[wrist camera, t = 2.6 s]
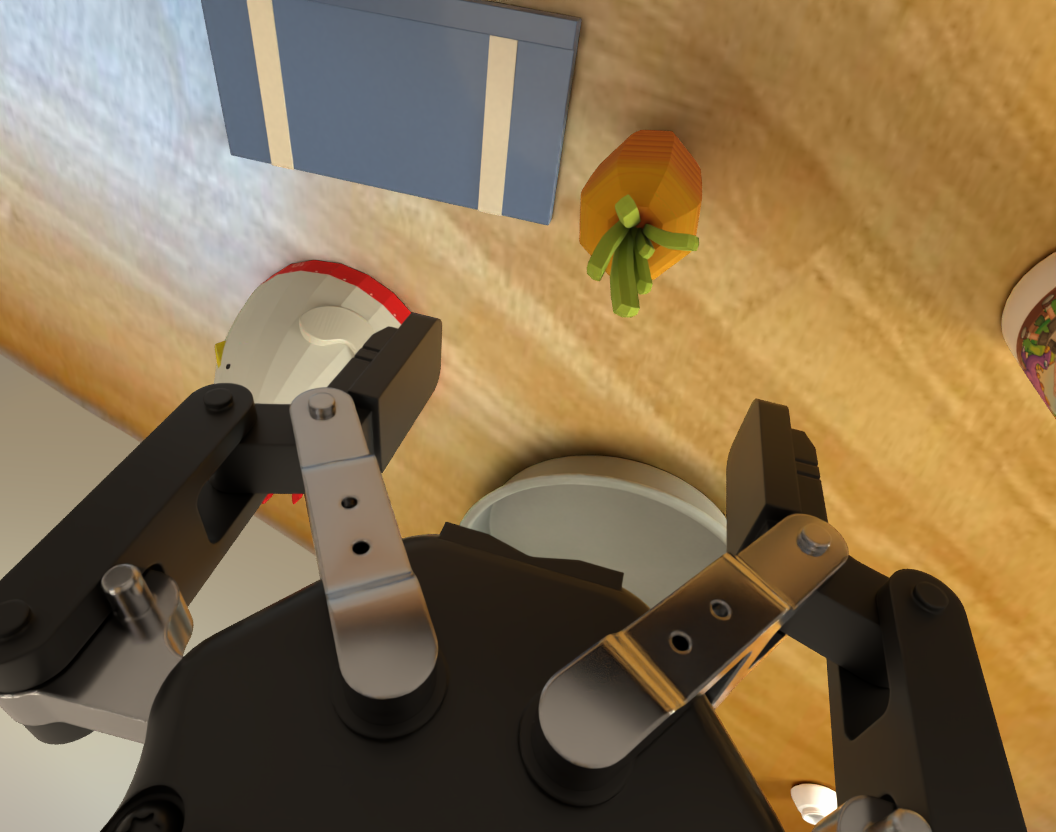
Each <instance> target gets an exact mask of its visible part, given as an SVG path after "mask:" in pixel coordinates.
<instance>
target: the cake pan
mask: <svg viewBox="0 0 1056 832" xmlns="http://www.w3.org/2000/svg"><path fill="white" fill-rule="evenodd" d="M459 526H463V527H466V528H470V529H473V530H477V531H480V532H484V533H487V534H490V535H491V536H493V537H495V538H497V539H499V540H501V541H502V542H504V543H506V544H508V545H510V546H512V547H513V548H515V549H517V550H519V551H521V552H523V553H524V554H526V555H529V556H532V557H542V558H557V559H572V560H581V561H585V562H588V563H591V564H595V565H598V566H602V567H605V568H609V569H612V570H616V571H619V572H623V573H624V576H623V583H622V587H623V588H624V589H626V590H628V591H630V592H631V593H633V594H634V595H635V596H637V597H638V598H640V599H641V600H642V601H643V602H644V603H645V604H647V605H648V606H649V607H650V608H653V607H654V606H655V605H657V604H658V603H659V602H661V601H662V600H663V599H665V598H666V597H667V596H669V595H670V594H671V593H672V592H674V591H675V590H676V589H678V588H679V587H680V586H682V585H683V584H684V583H686V582H687V581H688V580H690V579H691V578H692V577H694V576H695V575H696V574H698V573H699V572H700V571H702V570H703V569H704V568H706V567H707V566H708V565H710V564H711V563H712V562H714V561H715V560H716V559H718V558H719V557H721V556H722V555H723V554H725V553H727V519H726V518H725V516H724V515H723V514H722V512H721V511H720V510H719V509H718V508H717V507H716V505H715V504H714V503H713V502H711V501H710V500H709V499H708V498H707V497H706V496H705V495H703V494H702V493H701V492H700V491H698V490H697V489H696V488H694V487H693V486H691V485H690V484H688V483H686V482H685V481H683V480H681V479H680V478H678V477H676V476H674V475H672V474H670V473H668V472H665V471H663V470H660V469H658V468H655V467H652V466H650V465H647V464H643V463H640V462H636V461H632V460H628V459H623V458H617V457H608V456H597V455H580V456H567V457H561V458H555V459H551V460H547V461H544V462H540V463H538V464H535V465H533V466H530V467H528V468H526V469H524V470H523V471H521V472H519V473H518V474H516V475H515V476H513V477H512V478H511V479H510V480H508V481H507V482H506V483H505V484H504V485H503V486H501V487H499V488H497V489H495V490H494V491H492V492H490V493H489V494H487V495H485V496H484V497H483V498H481V499H480V500H479V501H478V502H476V503H475V504H474V505H473V506H472V507H471V508H470V509H469V511H468V512H467V513H466V514H465V516H464V518H463V520H462V521H461V523H460V525H459Z"/></svg>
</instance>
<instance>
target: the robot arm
mask: <svg viewBox="0 0 1056 832" xmlns="http://www.w3.org/2000/svg"><path fill="white" fill-rule="evenodd" d="M441 344H442V322H441V320H440V319H438V318H434V317H429V316H425V315H421V314H417V313H411V314H410V315H409V316H408V317H407V318H406V319H405V321H404V322H403V323H402V324H401V326H400V327H399V328H395V327H391V326H388V327H386V328H384V329H382V330H380V331H378V332H376V333H374V334H372V335H371V337H370V338H369V339H368V340H367V341H366V342H365V343H364V345H363V346H362V348H360V349H359V350H358V352H357V353H356V354H355V356H354V358H353V357H352V358H351V360H350V361H349V362H348V363H347V364H346V365H345V367H344V368H343V369H342V370H341V371H340V372H339V373H338V375H337V376H336V377H335V378H334V379H333V380H332V382H331V383H330V384H329V385H328V386H327V387H321V388H314V389H310V390H307V391H305V392H303V393H301V394H299V395H298V396H297V397H295V398H294V400H293V401H292V402H291V404H261V403H254V399H253V395H252V393H251V392H250V390H249V389H247V388H246V387H244V386H242V385H238V384H234V383H217V384H212V385H208V386H205V387H202V388H200V389H198V390H196V391H195V392H193V393H192V394H191V395H190V396H189V397H188V398H187V399H186V400H185V401H184V402H183V403H181V404H180V405H179V406H178V407H177V408H176V409H175V410H174V411H173V412H172V413H171V414H170V415H169V416H168V417H167V418H166V419H165V420H164V421H163V422H162V423H161V424H160V425H159V426H158V427H157V428H156V429H155V430H154V431H153V432H152V433H151V434H150V435H149V436H148V437H147V438H146V439H145V440H144V441H143V442H142V443H141V444H140V445H138V446H137V448H135V449H134V450H133V452H131V453H130V454H129V455H128V457H126V458H125V459H124V460H123V461H122V462H121V463H120V464H119V465H118V466H117V467H116V468H115V469H114V470H113V471H112V472H111V473H110V474H109V475H108V476H107V477H106V478H105V479H104V480H103V481H102V482H101V483H100V484H99V485H98V486H96V488H95V489H93V490H92V492H90V493H89V494H88V495H87V496H86V497H85V498H84V499H83V500H82V501H81V502H80V503H79V504H78V505H77V506H76V507H75V508H74V509H73V510H72V511H71V512H70V513H69V514H68V515H67V516H66V517H65V518H64V519H63V520H62V521H61V522H60V523H59V524H58V525H57V526H56V527H55V528H53V529H52V530H51V531H50V532H49V533H48V534H47V535H46V536H45V537H44V538H43V539H42V540H41V541H40V542H39V543H38V544H37V545H36V546H35V547H34V548H33V549H32V550H31V551H30V552H29V553H28V554H27V555H26V556H25V557H24V558H23V559H22V560H21V561H20V562H19V563H18V564H17V565H16V566H15V567H14V568H13V569H11V570H10V571H9V572H8V573H7V574H6V575H5V576H4V577H3V578H2V579H1V580H0V707H1V708H2V709H3V710H4V711H5V712H6V713H7V714H8V715H9V716H10V717H11V718H13V719H14V720H15V721H16V722H18V723H20V724H23V725H24V726H25V727H26V728H27V729H28V730H29V731H30V732H31V733H32V734H33V735H34V736H35V737H36V738H37V739H38V740H40V741H42V742H44V743H48V744H65V743H69V742H73V741H75V740H78V739H80V738H83V737H85V736H87V735H88V734H90V733H92V732H93V731H98V732H102V733H106V734H109V735H113V736H116V737H121V738H124V739H128V740H131V741H135V742H139V743H143V744H144V747H143V750H142V754H141V758H140V761H139V764H138V767H137V769H136V772H135V775H134V778H133V780H132V782H131V784H130V786H129V789H128V791H127V793H126V795H125V797H124V799H123V801H122V803H121V804H120V806H119V808H118V809H117V811H116V812H115V813H114V815H113V816H112V818H111V819H110V820H109V821H108V823H107V824H106V825H105V826H104V827H103V829H102V830H101V831H100V832H785V831H784V829H783V827H782V825H781V823H780V821H779V819H778V817H777V816H776V814H775V812H774V810H773V809H772V807H771V805H770V804H769V802H768V800H767V799H766V797H765V795H764V793H763V792H762V790H761V788H760V787H759V785H758V783H757V782H756V780H755V778H754V777H753V775H752V773H751V771H750V770H749V768H748V766H747V765H746V763H745V761H744V760H743V758H742V756H741V754H740V753H739V751H738V749H737V748H736V746H735V744H734V743H733V741H732V739H731V738H730V736H729V734H728V732H727V731H726V729H725V727H724V726H723V724H722V722H721V721H720V719H719V717H718V716H717V714H716V712H715V709H716V708H717V707H718V706H719V704H720V703H721V702H722V701H723V700H724V699H725V698H726V697H727V696H728V695H729V694H730V692H731V691H732V690H733V689H734V688H735V687H736V686H737V685H738V683H739V682H740V681H741V680H742V679H743V678H744V677H745V676H747V675H748V674H749V673H750V672H751V671H752V670H753V669H754V668H755V667H756V666H757V665H758V664H759V663H760V662H761V661H762V660H763V659H764V658H765V657H766V656H767V655H768V654H769V653H770V652H772V651H773V650H774V649H775V648H776V647H777V646H778V645H779V644H780V643H781V642H782V641H783V640H784V639H785V638H786V637H787V636H790V637H792V638H793V639H795V640H797V641H798V642H800V643H802V644H804V645H805V646H807V647H809V648H810V649H812V650H814V651H815V652H817V653H819V654H820V655H822V656H824V657H826V658H827V672H828V687H829V701H830V715H831V729H832V743H833V757H834V771H835V785H836V800H837V809H835V810H834V811H833V812H831V813H830V814H828V815H827V816H826V817H824V818H823V819H821V820H820V821H819V822H818V823H817V824H816V825H815V826H814V828H813V830H812V832H1027V829H1026V825H1025V822H1024V818H1023V815H1022V811H1021V808H1020V804H1019V800H1018V797H1017V793H1016V790H1015V786H1014V783H1013V779H1012V776H1011V772H1010V768H1009V765H1008V761H1007V758H1006V754H1005V751H1004V747H1003V744H1002V740H1001V736H1000V733H999V729H998V726H997V722H996V719H995V715H994V712H993V708H992V704H991V701H990V697H989V694H988V690H987V687H986V683H985V679H984V676H983V672H982V669H981V665H980V662H979V658H978V655H977V651H976V647H975V644H974V640H973V637H972V633H971V630H970V626H969V623H968V619H967V615H966V612H965V609H964V607H963V605H962V603H961V601H960V600H959V598H958V597H957V596H956V594H955V593H954V592H953V591H952V590H951V589H950V588H949V587H948V586H946V585H945V584H944V583H942V582H941V581H940V580H938V579H937V578H935V577H933V576H931V575H929V574H927V573H924V572H922V571H918V570H914V569H902V570H898V571H896V572H895V573H894V574H893V575H892V576H891V577H890V578H889V577H887V576H885V575H883V574H881V573H879V572H877V571H875V570H873V569H871V568H869V567H868V566H866V565H864V564H862V563H860V562H858V561H857V560H855V559H854V558H852V557H851V556H850V555H848V554H849V551H848V547H847V544H846V542H845V540H844V538H843V537H842V536H841V534H840V533H839V532H838V531H837V530H836V529H835V528H834V527H832V526H831V525H830V524H828V519H827V514H826V508H825V502H824V496H823V490H822V484H821V480H819V479H820V473H819V467H817V465H818V461H817V455H816V449H815V447H814V445H813V444H812V443H811V441H810V440H809V438H808V437H807V435H806V434H805V432H803V431H799V430H795V429H791V424H790V416H789V409H788V407H787V406H784V405H780V404H776V403H772V402H768V401H764V400H760V399H755V400H754V401H753V402H752V404H751V406H750V408H749V410H748V412H747V414H746V416H745V418H744V421H743V423H742V425H741V427H740V429H739V431H738V433H737V435H736V437H735V440H734V442H733V444H732V446H731V449H730V452H729V456H728V460H727V469H726V511H727V553H725V554H723V555H722V556H721V557H719V558H718V559H716V560H715V561H714V562H712V563H711V564H710V565H708V566H707V567H706V568H704V569H703V570H702V571H700V572H699V573H698V574H696V575H695V576H694V577H692V578H691V579H690V580H688V581H687V582H686V583H684V584H683V585H682V586H680V587H679V588H678V589H676V590H675V591H674V592H672V593H671V594H670V595H669V596H667V597H666V598H665V599H663V600H662V601H661V602H659V603H658V604H657V605H655V606H654V607H653V608H650V607H649V606H648V605H647V604H645V603H644V602H643V601H642V600H641V599H640V598H638V597H637V596H635V595H634V594H633V593H631V592H630V591H628V590H626V589H624V588H623V587H622V583H623V576H624V573H623V572H619V571H616V570H612V569H609V568H605V567H602V566H598V565H595V564H591V563H588V562H585V561H581V560H572V559H557V558H542V557H532V556H529V555H526V554H524V553H523V552H521V551H519V550H517V549H515V548H513V547H512V546H510V545H508V544H506V543H504V542H502V541H501V540H499V539H497V538H495V537H493V536H491V535H490V534H487V533H484V532H480V531H477V530H473V529H470V528H466V527H463V526H459V525H456V524H452V523H449V522H445V524H444V527H443V529H442V531H441V533H440V534H427V535H417V536H411V537H407V538H403V539H402V538H401V534H400V531H399V528H398V525H397V522H396V519H395V515H394V512H393V509H392V506H391V503H390V500H389V497H388V493H387V490H386V487H385V484H384V481H383V478H382V475H381V473H383V471H384V470H385V468H386V466H387V465H388V463H389V462H390V460H391V458H392V457H393V455H394V454H395V452H396V450H397V449H398V447H399V446H400V444H401V443H402V441H403V439H404V438H405V436H406V435H407V433H408V431H409V430H410V428H411V427H412V425H413V423H414V422H415V420H416V419H417V417H418V416H419V414H420V412H421V411H422V409H423V408H424V406H425V404H426V403H427V401H428V400H429V398H430V396H431V395H432V393H433V392H434V390H435V388H436V385H437V383H438V379H439V375H440V369H441ZM268 494H304V496H305V501H306V506H307V511H308V517H309V522H310V527H311V532H312V538H313V543H314V548H315V553H316V559H317V564H318V569H319V575H320V580H318V581H316V582H314V583H312V584H310V585H308V586H306V587H304V588H303V589H301V590H299V591H297V592H295V593H293V594H291V595H289V596H287V597H285V598H283V599H281V600H279V601H278V602H276V603H274V604H272V605H270V606H268V607H266V608H264V609H262V610H260V611H259V612H256V613H254V614H253V615H251V616H249V617H247V618H245V619H243V620H241V621H239V622H237V623H235V624H233V625H231V626H229V627H227V628H226V629H224V630H222V631H220V632H218V633H216V634H214V635H212V636H211V637H209V638H207V639H205V640H204V641H202V642H201V643H200V644H198V645H197V646H196V647H194V648H193V649H192V650H191V651H190V652H188V653H187V654H186V655H185V656H184V657H183V653H184V650H185V648H186V645H187V644H188V642H189V639H190V638H191V635H192V631H193V619H192V616H191V614H190V611H189V609H188V606H189V604H190V603H191V602H192V600H193V599H194V597H195V596H196V595H197V593H198V592H199V590H200V589H201V588H202V586H203V585H204V583H205V582H206V581H207V579H208V578H209V576H210V575H211V574H212V572H213V571H214V569H215V568H216V567H217V565H218V564H219V562H220V561H221V560H222V558H223V557H224V555H225V554H226V553H227V551H228V550H229V548H230V547H231V546H232V544H233V542H234V541H235V540H236V538H237V537H238V536H239V534H240V533H241V531H242V530H243V528H244V527H245V526H246V524H247V523H248V522H249V520H250V519H251V517H252V516H253V515H254V513H255V512H256V510H257V509H258V508H259V506H260V505H261V503H262V502H263V501H264V499H265V498H266V496H267V495H268Z"/></svg>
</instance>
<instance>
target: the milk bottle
mask: <svg viewBox="0 0 1056 832" xmlns="http://www.w3.org/2000/svg"><path fill="white" fill-rule="evenodd" d="M1001 325H1002V334H1003V337H1004V340H1005V342H1006V344H1007V346H1008V347H1009V349H1010V351H1011V352H1012V354H1013V356H1014V357H1015V359H1016V360H1017V362H1018V363H1019V365H1020V366H1021V368H1022V369H1023V371H1024V372H1025V374H1026V376H1027V377H1028V379H1029V380H1030V381H1031V383H1032V384H1033V386H1034V387H1035V389H1036V390H1037V392H1038V393H1039V395H1040V396H1041V398H1042V399H1043V401H1044V402H1045V404H1046V405H1047V407H1048V408H1049V410H1050V411H1051V413H1052V414H1053V416H1054V417H1055V419H1056V252H1055V253H1053V254H1051V255H1050V256H1048V257H1047V258H1045V259H1044V260H1042V261H1041V262H1039V263H1038V264H1036V265H1035V266H1034V267H1033V268H1032V269H1031V270H1030V271H1029V272H1028V273H1026V274H1025V275H1024V276H1023V277H1022V279H1021V280H1020V281H1019V282H1018V284H1017V285H1016V286H1015V287H1014V288H1013V290H1012V292H1011V294H1010V296H1009V298H1008V299H1007V302H1006V305H1005V308H1004V311H1003V315H1002V322H1001Z"/></svg>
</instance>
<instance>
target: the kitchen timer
mask: <svg viewBox="0 0 1056 832" xmlns="http://www.w3.org/2000/svg"><path fill="white" fill-rule="evenodd" d="M410 314H411V312H410V311H409V310H408V309H407V308H406V306H405V305H404V304H403V303H402V302H401V301H400V300H399V299H398V298H397V297H396V295H395V294H394V293H393V292H391V291H390V290H388V289H387V288H386V287H384V286H383V285H381V284H380V283H379V282H377V281H376V280H374V279H373V278H372V277H370V276H369V275H367V274H364V273H362V272H359V271H357V270H355V269H352V268H350V267H347V266H345V265H343V264H339V263H332V262H325V261H318V260H311V261H306V262H300V263H294V264H290V265H288V266H287V267H285V268H284V269H282V270H280V271H279V272H277V273H276V274H274V275H272V276H271V277H270V278H269V279H267V280H266V281H265V282H263V283H262V284H261V285H260V286H259V287H258V288H257V289H256V290H255V291H254V292H253V293H252V295H251V296H250V297H249V299H248V300H247V302H246V303H245V305H244V306H243V308H242V309H241V311H240V313H239V314H238V316H237V317H236V319H235V321H234V323H233V325H232V327H231V328H230V330H229V332H228V334H227V336H226V338H225V341H223V342H220V343H217V344H215V352H216V359H217V365H216V373H215V381H214V384H217V383H234V384H238V385H242V386H244V387H246V388H247V389H249V390H250V392H251V393H252V395H253V399H254V403H261V404H291V402H292V401H293V400H294V398H295V397H297V396H298V395H299V394H301V393H303V392H305V391H307V390H310V389H314V388H321V387H327V386H328V385H329V384H330V383H331V382H332V380H333V379H334V378H335V377H336V376H337V375H338V373H339V372H340V371H341V370H342V369H343V368H344V367H345V365H346V364H347V363H348V362H349V361H350V360H351V358H352V357H353V358H354V356H355V354H356V353H357V352H358V350H359V349H360V348H362V346H363V345H364V343H365V342H366V341H367V340H368V339H369V338H370V337H371V335H372V334H374V333H376V332H378V331H380V330H382V329H384V328H386V327H388V326H391V327H395V328H399V327H400V326H401V324H402V323H403V322H404V321H405V319H406V318H407V317H408V316H409V315H410ZM272 495H273V494H268V495H267V496H266V498H265V499H264V501H263V502H262V504H264V503H266V502H267V501H268V500H269V499H270V498H271V497H272ZM302 496H303V494H292V502H293V504H295V503H296V502H297V501H298V500H300V499H301V498H302Z"/></svg>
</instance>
